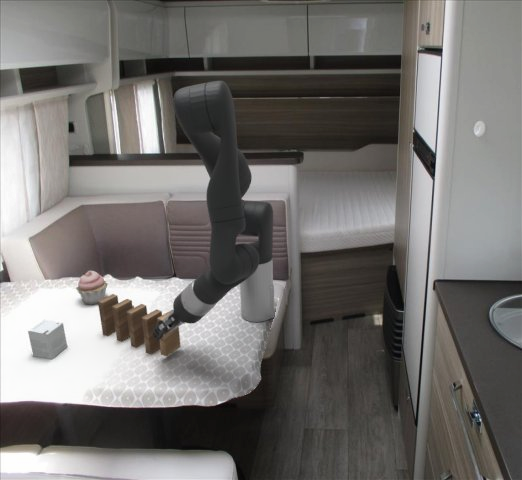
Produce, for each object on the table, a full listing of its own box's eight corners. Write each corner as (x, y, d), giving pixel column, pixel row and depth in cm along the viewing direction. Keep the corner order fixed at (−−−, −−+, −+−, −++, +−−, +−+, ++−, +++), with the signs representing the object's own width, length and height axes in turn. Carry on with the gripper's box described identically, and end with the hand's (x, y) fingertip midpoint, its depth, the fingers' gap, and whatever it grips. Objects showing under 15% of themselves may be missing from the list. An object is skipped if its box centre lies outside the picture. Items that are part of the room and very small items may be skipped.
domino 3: (150, 339, 135) (146, 305, 131) (135, 348, 131) (131, 313, 128) (145, 337, 136) (141, 303, 132) (131, 346, 132) (126, 311, 129)
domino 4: (165, 345, 132) (161, 311, 128) (150, 354, 128) (146, 319, 125) (160, 343, 133) (156, 309, 129) (145, 352, 129) (141, 317, 126)
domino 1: (121, 328, 141) (117, 295, 137) (107, 336, 137) (102, 302, 133) (117, 326, 142) (112, 293, 138) (102, 334, 138) (97, 301, 134)
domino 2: (135, 333, 138) (131, 300, 134) (121, 342, 134) (116, 308, 131) (131, 331, 139) (127, 298, 135) (116, 340, 135) (112, 306, 132)
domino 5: (180, 347, 128) (177, 311, 125) (166, 356, 125) (162, 320, 121) (175, 345, 129) (171, 309, 126) (161, 354, 126) (157, 318, 122)
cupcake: (72, 305, 154) (66, 275, 151) (88, 292, 163) (84, 263, 159) (99, 308, 152) (95, 277, 148) (115, 294, 160) (111, 265, 157)
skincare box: (48, 343, 134) (43, 318, 132) (68, 347, 133) (63, 321, 130) (32, 356, 129) (27, 330, 126) (52, 359, 127) (47, 333, 125)
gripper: (207, 275, 122) (175, 308, 132) (164, 299, 111) (132, 332, 121) (226, 301, 121) (191, 331, 131) (184, 327, 110) (150, 358, 120)
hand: (163, 332), depth 126 cm, fingers closed on domino 5, 4 cm apart
